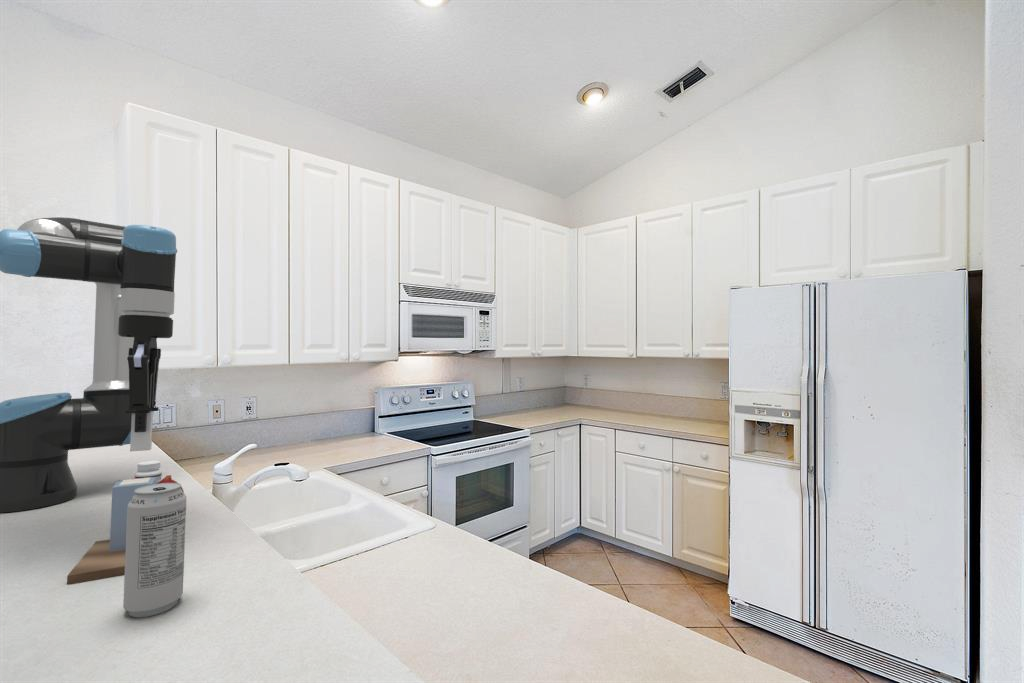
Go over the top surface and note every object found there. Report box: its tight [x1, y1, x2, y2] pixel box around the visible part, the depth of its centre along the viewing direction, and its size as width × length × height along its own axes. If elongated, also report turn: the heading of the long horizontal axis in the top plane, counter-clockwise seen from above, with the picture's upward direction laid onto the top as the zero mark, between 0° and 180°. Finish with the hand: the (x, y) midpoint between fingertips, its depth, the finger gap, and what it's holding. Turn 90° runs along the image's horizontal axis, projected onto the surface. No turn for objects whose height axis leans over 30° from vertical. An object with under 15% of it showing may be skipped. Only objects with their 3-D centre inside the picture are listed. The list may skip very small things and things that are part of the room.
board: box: [66, 538, 126, 585], centre depth 73 cm, size 14×11×1 cm
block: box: [109, 477, 157, 552], centre depth 76 cm, size 5×5×10 cm
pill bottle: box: [134, 460, 163, 483], centre depth 103 cm, size 5×5×8 cm
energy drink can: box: [122, 482, 187, 618], centre depth 59 cm, size 6×6×15 cm
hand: (140, 449), depth 81 cm, fingers closed
